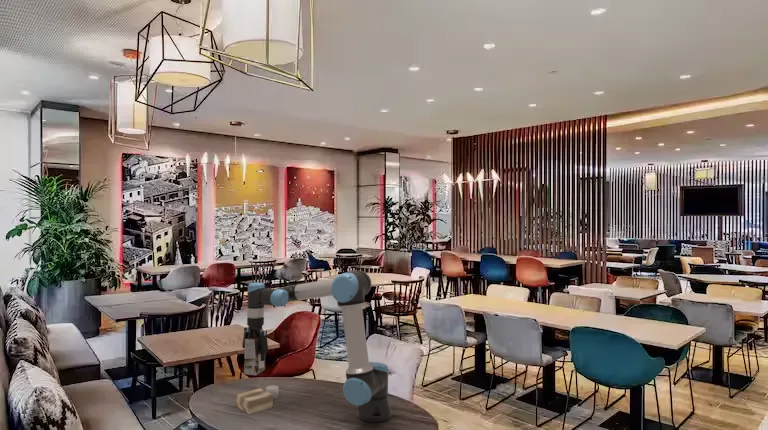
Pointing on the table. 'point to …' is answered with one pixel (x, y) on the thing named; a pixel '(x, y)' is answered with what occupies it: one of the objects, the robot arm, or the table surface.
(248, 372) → the coffee box
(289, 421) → the table surface
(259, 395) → the maple block
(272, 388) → the white rounded dome
